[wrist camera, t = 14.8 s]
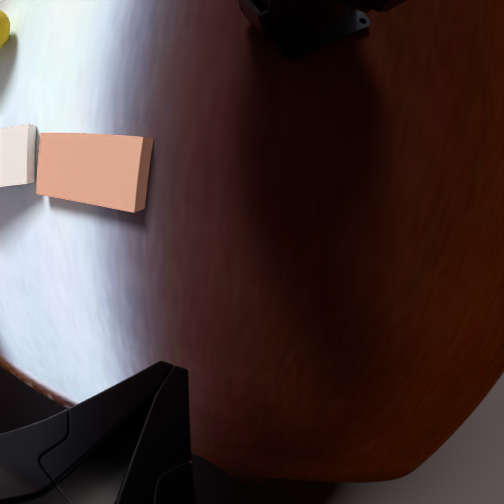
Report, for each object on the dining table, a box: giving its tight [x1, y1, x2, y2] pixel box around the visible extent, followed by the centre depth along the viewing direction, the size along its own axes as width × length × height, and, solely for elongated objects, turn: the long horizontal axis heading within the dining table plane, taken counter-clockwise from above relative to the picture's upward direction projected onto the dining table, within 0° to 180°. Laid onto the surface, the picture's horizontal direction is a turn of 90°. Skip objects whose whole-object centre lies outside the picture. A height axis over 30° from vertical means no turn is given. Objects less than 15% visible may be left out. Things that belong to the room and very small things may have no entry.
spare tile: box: [36, 133, 154, 213], centre depth 19 cm, size 2×5×10 cm
